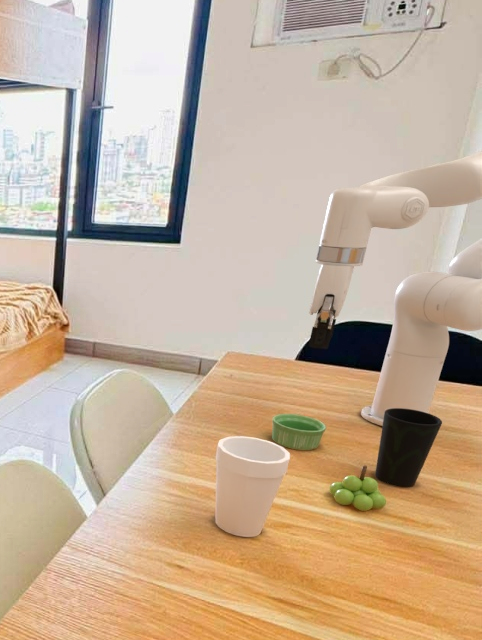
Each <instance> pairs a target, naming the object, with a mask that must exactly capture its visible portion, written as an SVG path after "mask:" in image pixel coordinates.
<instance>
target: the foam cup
mask: <svg viewBox="0 0 482 640" xmlns="http://www.w3.org/2000/svg"><path fill="white" fill-rule="evenodd" d="M285 448H286V447H284V446H282V445H280V444H278V443H276V442H274V441H273V442H272V441H270V440H266V439H263V438H258V437H252V436H244V435H242V436H241V435H237V436H226V437H223V438H221V439H219V440H218V443H217V446H216V453H215V458H214V460H215V461H216V465H215V466H216V468H215V469H216V470H215V471H216V472H215V473H216V474H215V509H214V510H215V515H214V516H215V517H214V519H215V522H214V523H215V524H216V525H217V527H218V528H219V529H220V530H222V531H223V532H225V533H228V534H230V535H234V536H235V537H236V536H237V537H243V538H252V537H257V536H259V535H260V534H261V532H262V531H263V529H264V526H265V524H266V522H267V519H268V515H269V514H270V511H271V508H272V506H273V504H274V501H275V498H276V497H277V494H278V491H279V489H280V486H281V484H282V481H283V479H284V476H285V475H287V474H288V473H287V472H288V468H289V465H290V459H291V453H290V452H289V451H288V449H285Z"/></svg>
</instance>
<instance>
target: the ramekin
mask: <svg viewBox="0 0 482 640" xmlns="http://www.w3.org/2000/svg"><path fill="white" fill-rule="evenodd" d="M326 429H327V426H326V424H325V423H324V422H322V421H321V420H319V419H317V418H314V417H311V416H307V415H302V414H296V413H280V414H276V415H274V416H273V417H272V431H271V439H272V440H273V442H274V443H275V444H277V445H279V446H282V447H284V448H288V449H291V450H298V451H312V450H316V449H317V448H318V447H320V444H321V441H322V438H323V435H324V433H325V431H326Z"/></svg>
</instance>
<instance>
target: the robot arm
mask: <svg viewBox="0 0 482 640" xmlns="http://www.w3.org/2000/svg"><path fill="white" fill-rule="evenodd" d="M479 200H482V150H480V151H478V152H475V153H472V154H469V155H467V156H464V157H461V158H457V159H454V160H450V161H446V162H442V163H441V162H440V163H436V164H432V165H428V166H424V167H420V168H416V169H415V168H414V169H411V170H406V171H402V172H397V173H393V174H390V175H386V176H383V177H381V178H378V179H375V180H372V181H369V182H366V183H364V184H361V185H359V186H357V187H341V188H337V189H334V190H333V191H332V192H331V193H330V195H329V198H328V203H327V208H326V212H325V217H324V220H323V225H322V230H321V233H320V234H321V235H320V239H319V244H318V249H317V253H316V257H315V263H316V264H320V268H319V270H318V274H317V278H316V282H315V285H314V291H313V295H312V299H311V303H310V308H309V311H308V313H309V314H310V316H313V315H314V314H316V317H315V321H314V325H313V326H312V328H311V333H310V337H309V342H308V347H309V348H313V349H321V350H327V349H328V348H329V346H330V341H331V339H332V338H333V334H334V331H335V326H336V321H337V319H336V318H337V317H339V315H340V314H341V311H342V309H343V306H344V304H345V301H346V299H347V295H348V291H349V288H350V284H351V281H352V277H353V274H354V273H353V272H354V269H355V268H354V267H361V266H363V263H364V260H365V255H366V252H367V247H368V243H369V238H370V234H371V231H372V228H379V229H388V230H402V229H407V228H410V227H413V226H414V225H416V224H418V223H419V222H420V221H422V220H423V219H424V218H425V216H426V215H427V213H428V210H429V208H447V207H455V206H462V205H467V204H471V203H474V202H477V201H479ZM392 321H393V322H392V327H391V332H390V337H389V340H388V344H387V347H386V352H385V355H384V359H383V363H382V367H381V369H380V374H379V376H378V377H379V378H378V381H377V384H376V389H375V393H374V396H373V400H372V404H371V405H368V406H364V407H362V408H361V412H360V416H361V417H362V418H363V419H365V420H366V421H367V422H370V423H372V424H374V425H378V426H381V427H382V426H383V420H384V413H385V411H386V410H388V409H392V408H403V409H412V410H417V411H422V412H425V413H428V414H430V409H431V407H432V404H433V403H432V402H433V400H434V396H435V393H436V390H437V386H438V383H439V380H440V376H441V372H442V370H443V366H444V363H445V360H446V357H447V353H448V350H449V346H450V334H449V329H448V328H452V329H455V330H460V331H468V332H474V331H480V330H482V237H481V238H479V239H478V240H477V241H475V242H474V243H472V244H470V245H469V246H467V247H466V248H464V249H463V250H461V251H460V252H458V254H456V255H455V256H454V257H453V258H452V259H451V261H450V262H449V264H448V267H447V272H446V273H445V272H439V271H420V272H416V273H413V274H411V275H408V276H407V277H405V278H404V279H403V280H401V282H400V283H399V285H398V286H397V288H396V290H395V293H394V298H393V320H392Z"/></svg>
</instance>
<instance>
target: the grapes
mask: <svg viewBox="0 0 482 640" xmlns="http://www.w3.org/2000/svg"><path fill="white" fill-rule="evenodd" d="M367 471H368V466H367V465H366V464H365V465H362V467H361V471H360V474H359V476H357V475H353V474H352V475H347V476H345V477H344V478H343V480H342V481H335V482H333V483H331V485H330V486H329V492H330V494H331V495H332V496H333V497H334V500H335V501H336V503H338V504H339V505H342V506H349V505H351V504H352V505H353V506H354V508H355V509H356V510H358V511H361V512H367V511H370V510H371V509H374V510H381V509H383V508H385V507H386V504H387V498H386V497H385V495H383V494H382V493H381V492H380V490H379V483H378V481H377V480H376V478H375V479H374V478H373V477H369V476H366V474H367Z"/></svg>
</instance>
